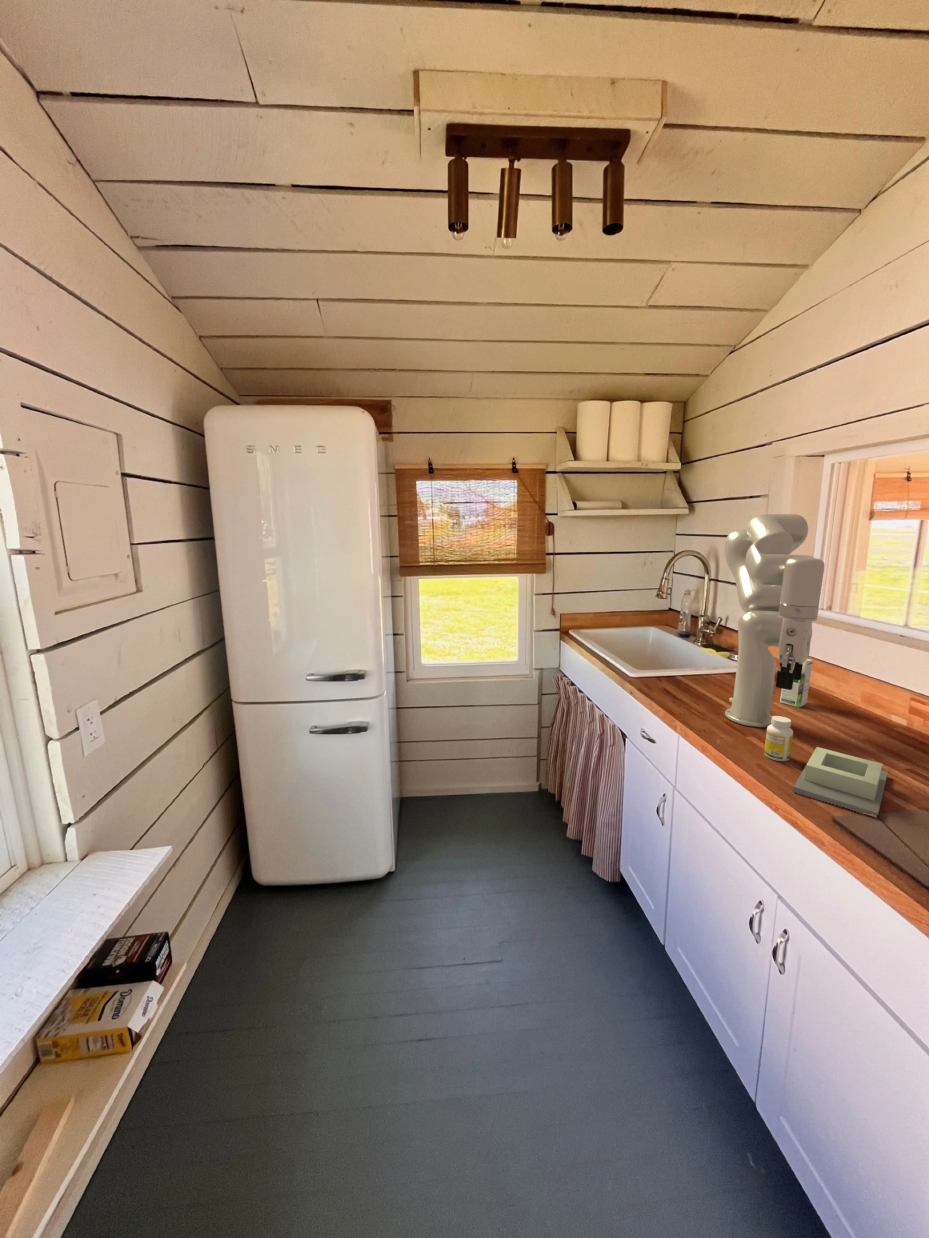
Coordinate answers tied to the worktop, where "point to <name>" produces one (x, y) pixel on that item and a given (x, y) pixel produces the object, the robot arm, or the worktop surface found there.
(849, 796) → the socket board
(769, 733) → the supplement bottle
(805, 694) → the syrup box
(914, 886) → the worktop surface
